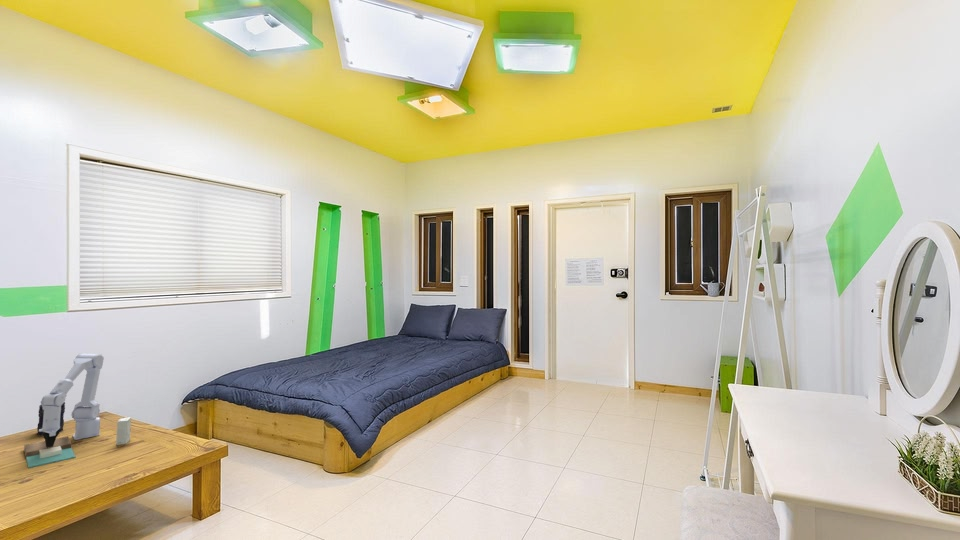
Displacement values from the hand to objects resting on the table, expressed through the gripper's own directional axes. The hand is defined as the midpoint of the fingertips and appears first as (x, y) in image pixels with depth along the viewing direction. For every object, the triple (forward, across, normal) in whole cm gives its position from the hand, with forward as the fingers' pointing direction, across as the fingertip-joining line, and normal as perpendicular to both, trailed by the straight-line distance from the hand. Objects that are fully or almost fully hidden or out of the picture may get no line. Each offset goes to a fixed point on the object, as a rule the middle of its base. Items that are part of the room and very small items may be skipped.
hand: (49, 446), depth 196 cm
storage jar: (+3, -33, +3) cm, 33 cm away
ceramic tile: (+2, +3, 0) cm, 4 cm away
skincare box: (+3, +7, +26) cm, 27 cm away
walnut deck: (+3, -6, 0) cm, 7 cm away
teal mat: (+3, +7, 0) cm, 8 cm away
